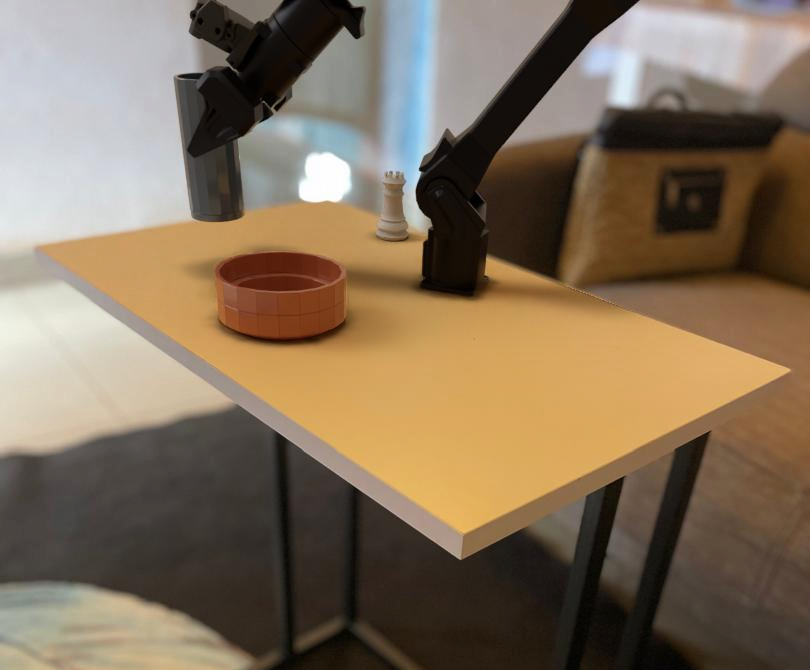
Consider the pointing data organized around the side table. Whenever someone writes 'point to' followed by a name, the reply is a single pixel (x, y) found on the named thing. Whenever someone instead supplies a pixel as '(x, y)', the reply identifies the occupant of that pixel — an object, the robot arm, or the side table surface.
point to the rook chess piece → (393, 209)
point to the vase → (207, 161)
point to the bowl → (281, 294)
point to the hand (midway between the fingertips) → (199, 148)
